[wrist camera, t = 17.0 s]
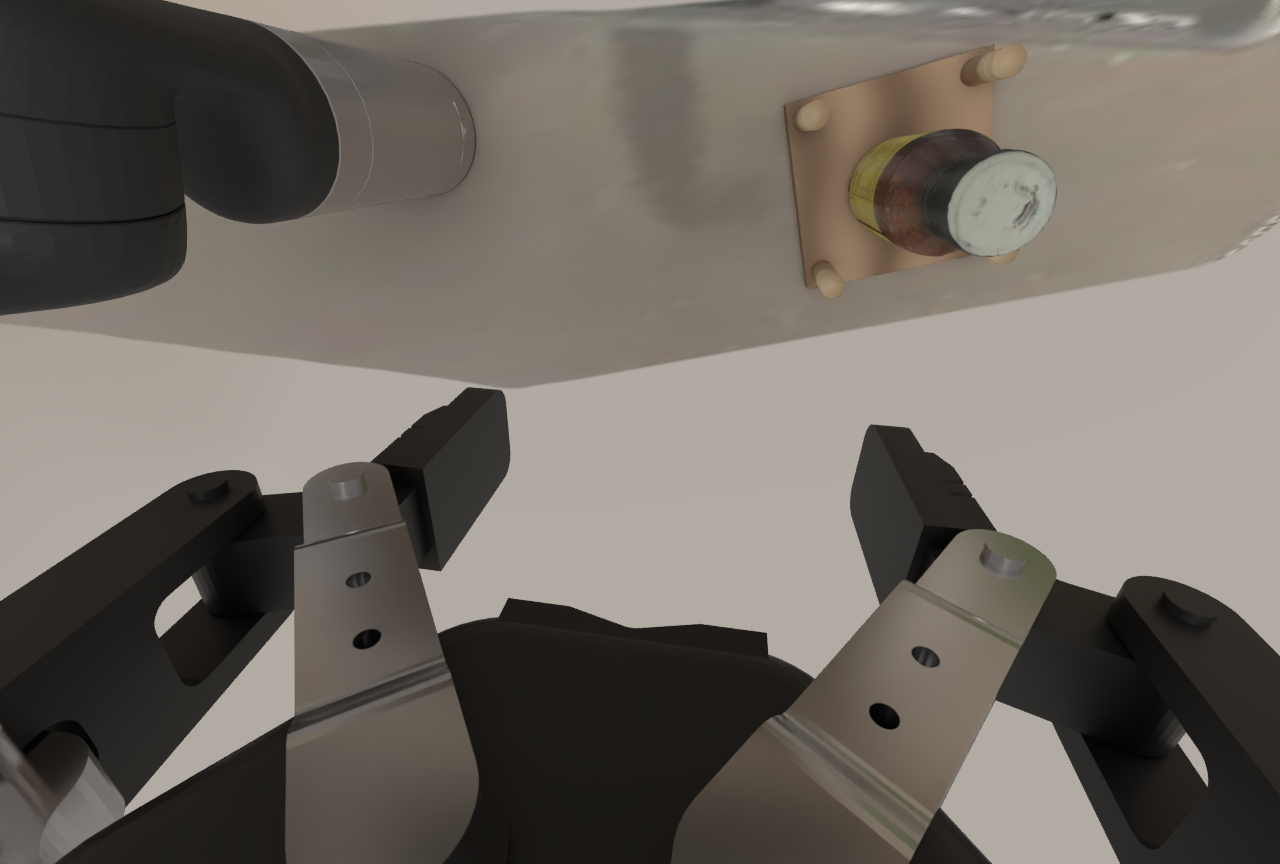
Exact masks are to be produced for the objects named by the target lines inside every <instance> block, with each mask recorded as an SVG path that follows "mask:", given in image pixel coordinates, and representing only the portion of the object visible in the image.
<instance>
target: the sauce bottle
mask: <svg viewBox="0 0 1280 864" xmlns="http://www.w3.org/2000/svg"><path fill="white" fill-rule="evenodd" d="M848 192H849V200H850V205H851V209H852V212H853V214H854V216H855V217H856V219H857V220H858V221H859V222H860V224H861V225H862V226H863V227H865V228H866V229H868V230H869V231H871V232H872V233H874V234H876V235H878V236H879V237H881V238H883V239H885V240H886V241H888V242H890V243H892V244H894V245H895V246H897V247H899V248H901V249H904V250H907V251H910V252H913V253H916V254H919V255H923V256H934V257H938V256H943V255H946V254H948V253H954V252H958V251H960V250H961V251H964V252H966V253H967V254H972V255H975V256H980V257H994V256H999V255H1006V254H1008V253H1011V252H1013V251H1016V250H1018V249H1020V248H1021V247H1022V246H1024V245H1026V244H1028V243H1029V242H1030V241H1031V240H1032V239H1033V238H1034V237H1035V236H1037V235H1038V234H1039V233H1040V232H1041V231H1042V229H1043V228H1044V227H1045V226H1046V224H1047V222H1048V221H1049V218H1050V215H1051V213H1052V211H1053V208H1054V205H1055V201H1056V195H1057V184H1056V180H1055V177H1054V172H1053V170H1052V169H1051V167H1050V166H1049V164H1048V163H1047V162H1045V161H1044V160H1043V159H1041V158H1040V157H1039V156H1036V155H1034V154H1032V153H1029V152H1026V151H1022V150H1011V149H1003V150H1001V149H1000V148H999V146H998V145H997V144H996V143H995V142H994V141H993V140H992V139H990V138H989V137H987V136H986V135H984V134H981V133H979V132H976V131H973V130H969V129H960V128H959V129H943V130H937V131H933V132H927V133H921V134H914V135H907V136H901V137H896V138H892V139H889V140H887V141H885V142H883V143H881V144H879V145H878V146H876V147H875V148H873V149H872V150H871V151H869V152H868V153H867V154H866V155H865V156H864V158H863V159H862V160H861V161H860V163H859V164H858V165H857V167H856V169H855V172H854V174H853V177H852V179H851V181H850V184H849V187H848Z"/></svg>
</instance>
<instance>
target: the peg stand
mask: <svg viewBox="0 0 1280 864" xmlns="http://www.w3.org/2000/svg"><path fill="white" fill-rule="evenodd" d="M994 48H995V44H994V45H991V46H987V47H984V48H980V49H977V50H973V51H970V52H967V53H963V54H960V55H956V56H953V57H949V58H946V59H942V60H939V61H935V62H932V63H928V64H925V65H921V66H918V67H914V68H911V69H907V70H904V71H900V72H897V73H894V74H890V75H887V76H883V77H880V78H876V79H873V80H869V81H866V82H862V83H859V84H855V85H852V86H848V87H845V88H841V89H838V90H834V91H831V92H827V93H824V94H821V95H817V96H814V97H810V98H807V99H803V100H800V101H796V102H793V103H789V104H786V105H784V112H785V120H786V129H787V137H788V145H789V154H790V162H791V170H792V178H793V187H794V195H795V203H796V212H797V220H798V228H799V236H800V245H801V253H802V261H803V270H804V278H805V285H806V287H807V289H812V288H817V287H819V289H820V291H821V292H822V294H823V295H824V296H825V297H826V298H830V299H833V298H837V297H839V296H840V295H841V294H842V293H843V291H844V289H845V282H846V281H851V280H855V279H860V278H865V277H870V276H875V275H880V274H884V273H889V272H894V271H899V270H904V269H908V268H913V267H918V266H923V265H928V264H933V263H937V262H942V261H947V260H952V259H957V258H962V257H966V256H971V255H972V254H967V253H966V252H964V251H961V250H960V251H958V252H954V253H948V254H946V255H943V256H938V257H934V256H923V255H919V254H916V253H913V252H910V251H907V250H904V249H901V248H899V247H897V246H895V245H894V244H892V243H890V242H888V241H886V240H885V239H883V238H881V237H879V236H878V235H876V234H874V233H872V232H871V231H869V230H868V229H866V228H865V227H863V226H862V225H861V224H860V222H859V221H858V220H857V219H856V217H855V216H854V214H853V212H852V209H851V205H850V200H849V192H848V187H849V184H850V181H851V179H852V177H853V174H854V172H855V169H856V167H857V165H858V164H859V163H860V161H861V160H862V159H863V158H864V156H865V155H866V154H867V153H868V152H869V151H871V150H872V149H873V148H875V147H876V146H878V145H879V144H881V143H883V142H885V141H887V140H889V139H892V138H896V137H901V136H907V135H914V134H921V133H927V132H933V131H937V130H943V129H959V128H960V129H969V130H973V131H976V132H979V133H981V134H984V135H986V136H987V137H989V138H990V139H992V140H993V100H994V81H996V80H1000V79H1004V78H1009V77H1012V76H1014V75H1016V74H1017V73H1019V72H1020V71H1021V70H1022V68H1023V67H1024V65H1025V63H1026V59H1027V52H1026V50H1025V48H1024V47H1023V46H1022V45H1020V44H1011V45H1008V46H1005V47H1002V48H999V49H997V50H994ZM1018 252H1019V249H1018V250H1016V251H1013V252H1011V253H1008V254H1006V255H999V256H994V257H984V258H986V259H988V260H991V261H993V262H995V263H997V264H1007V263H1009V262H1011V261H1012V260H1013V259H1014V258H1015V257H1016V256H1017V254H1018Z"/></svg>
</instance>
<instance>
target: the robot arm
mask: <svg viewBox="0 0 1280 864" xmlns="http://www.w3.org/2000/svg"><path fill="white" fill-rule="evenodd" d="M474 150H475V132H474V127H473V121H472V118H471V115H470V112H469V110H468V107H467V105H466V103H465V101H464V100H463V98H462V96H461V94H460V93H459V92H458V90H457V89H456V88H455V87H454V85H453V84H452V83H451V82H450V81H449V80H448V79H447V78H445V77H444V76H443V75H442V74H441V73H439V72H437V71H435V70H434V69H432V68H430V67H428V66H424V65H421V64H417V63H413V62H409V61H406V60H402V59H398V58H395V57H392V56H388V55H384V54H380V53H376V52H372V51H368V50H364V49H360V48H356V47H352V46H349V45H345V44H341V43H337V42H333V41H329V40H325V39H321V38H317V37H313V36H309V35H305V34H301V33H298V32H294V31H288V30H284V29H281V28H277V27H273V26H269V25H264V24H261V23H257V22H253V21H249V20H244V19H241V18H236V17H232V16H228V15H224V14H219V13H215V12H210V11H206V10H202V9H197V8H192V7H188V6H184V5H180V4H176V3H172V2H168V1H164V0H0V315H8V314H17V313H25V312H34V311H42V310H51V309H59V308H66V307H73V306H79V305H86V304H92V303H97V302H102V301H107V300H112V299H117V298H121V297H125V296H128V295H132V294H136V293H139V292H142V291H145V290H148V289H151V288H153V287H155V286H158V285H160V284H162V283H165V282H166V281H168V280H170V279H171V278H172V277H174V276H175V275H176V274H177V273H178V271H179V270H180V269H181V267H182V265H183V263H184V262H185V256H186V251H187V220H186V208H185V201H184V199H185V198H184V194H185V195H187V196H188V197H189V198H190V199H192V200H193V201H195V202H196V203H197V204H199V205H201V206H202V207H204V208H205V209H207V210H209V211H211V212H213V213H215V214H217V215H219V216H222V217H224V218H227V219H231V220H234V221H239V222H244V223H251V224H265V223H275V222H281V221H287V220H292V219H298V218H304V217H310V216H316V215H322V214H327V213H332V212H337V211H343V210H349V209H355V208H361V207H367V206H372V205H378V204H384V203H390V202H396V201H401V200H407V199H414V198H420V197H425V196H430V195H436V194H441V193H445V192H447V191H449V190H451V189H453V188H454V187H455V186H456V185H458V184H459V183H460V182H461V181H462V180H463V178H464V177H465V175H466V174H467V173H468V171H469V168H470V166H471V163H472V161H473V156H474ZM509 463H510V442H509V431H508V420H507V410H506V400H505V396H504V394H503V392H502V391H501V390H494V389H483V388H472V387H471V388H470V387H468V388H466V389H465V390H464V391H463V392H462V393H461V394H460V395H459V396H458V397H457V398H455V399H454V400H453V401H452V402H451V403H450V404H449V405H448V406H442V407H440V408H438V409H436V410H433V411H431V412H429V413H427V414H425V415H423V416H422V417H421V418H420V419H419V420H418V421H416V422H415V423H414V424H413V425H412V427H411V428H409V429H408V430H406V431H405V432H404V433H403V434H402V435H401V438H397V439H396V440H395V441H394V442H393V443H392V444H390V445H389V446H388V447H387V448H386V449H385V450H384V451H382V452H381V453H380V454H379V455H378V456H377V457H376V458H374V459H373V460H372V461H371V462H353V463H346V464H342V465H338V466H334V467H331V468H329V469H326V470H324V471H322V472H320V473H318V474H316V475H315V476H313V477H312V478H311V479H310V480H309V481H307V483H306V484H305V485H304V487H303V492H298V493H284V494H273V495H262V493H261V491H260V488H259V485H258V482H257V479H256V477H255V476H254V475H253V474H251V473H249V472H246V471H240V470H226V471H217V472H212V473H207V474H203V475H200V476H197V477H194V478H191V479H188V480H186V481H184V482H182V483H179V484H178V485H176V486H174V487H172V488H171V489H169V490H168V491H166V492H165V493H163V494H162V495H160V496H159V497H157V498H155V499H154V500H152V501H151V502H150V503H148V504H147V505H145V506H144V507H142V508H140V509H139V510H138V511H136V512H134V513H133V514H131V515H130V516H128V517H127V518H125V519H124V520H122V521H121V522H119V523H118V524H116V525H115V526H113V527H112V528H110V529H109V530H107V531H106V532H104V533H103V534H101V535H100V536H98V537H97V538H95V539H94V540H92V541H91V542H89V543H88V544H86V545H85V546H83V547H82V548H80V549H79V550H77V551H76V552H74V553H72V554H71V555H70V556H68V557H66V558H65V559H63V560H62V561H60V562H59V563H57V564H56V565H54V566H53V567H51V568H50V569H49V570H47V571H46V572H44V573H43V574H41V575H39V576H38V577H36V578H35V579H33V580H32V581H30V582H29V583H27V584H26V585H24V586H23V587H21V588H20V589H18V590H17V591H15V592H14V593H12V594H11V595H9V596H7V597H6V598H4V599H3V600H2V601H0V864H992V863H991V862H990V861H989V860H988V859H987V858H986V857H985V856H984V855H983V853H982V852H981V851H980V850H979V849H978V848H977V847H976V846H975V845H974V844H973V843H972V842H971V841H970V839H969V838H968V837H967V836H966V835H965V834H964V833H963V832H962V831H961V830H960V829H959V828H958V827H957V825H956V824H955V823H954V822H953V821H952V820H951V819H950V818H949V817H948V816H947V815H946V814H945V812H944V811H943V810H942V809H941V806H942V804H943V802H944V800H945V798H946V796H947V794H948V792H949V790H950V788H951V786H952V784H953V782H954V780H955V778H956V776H957V774H958V772H959V770H960V768H961V767H962V765H963V762H964V760H965V759H966V757H967V755H968V753H969V751H970V749H971V747H972V745H973V743H974V741H975V739H976V737H977V735H978V733H979V731H980V729H981V727H982V725H983V723H984V721H985V719H986V717H987V716H988V714H989V712H990V710H991V708H992V706H993V704H994V702H995V700H996V701H999V702H1002V703H1004V704H1007V705H1010V706H1012V707H1014V708H1017V709H1020V710H1022V711H1025V712H1028V713H1030V714H1033V715H1035V716H1038V717H1040V718H1043V719H1046V720H1048V721H1051V722H1052V723H1053V725H1054V728H1055V730H1056V732H1057V734H1058V736H1059V738H1060V740H1061V742H1062V744H1063V747H1064V749H1065V751H1066V753H1067V755H1068V757H1069V759H1070V761H1071V763H1072V765H1073V767H1074V769H1075V771H1076V773H1077V776H1078V778H1079V780H1080V782H1081V784H1082V786H1083V788H1084V790H1085V792H1086V794H1087V796H1088V798H1089V800H1090V802H1091V804H1092V806H1093V809H1094V811H1095V813H1096V815H1097V817H1098V819H1099V821H1100V823H1101V825H1102V827H1103V829H1104V831H1105V833H1106V835H1107V837H1108V839H1109V842H1110V843H1111V846H1112V848H1113V850H1114V852H1115V854H1116V856H1117V858H1118V860H1119V862H1120V864H1280V656H1279V655H1278V654H1277V653H1276V652H1275V651H1274V650H1273V649H1272V648H1271V647H1270V646H1269V645H1268V644H1267V643H1266V642H1265V641H1264V640H1263V639H1262V638H1261V637H1260V636H1259V635H1258V634H1257V633H1256V632H1255V631H1254V630H1253V629H1252V628H1251V627H1250V626H1249V625H1248V624H1247V623H1246V622H1245V621H1244V620H1243V619H1242V618H1241V617H1240V616H1239V615H1238V614H1237V613H1236V612H1234V611H1233V610H1232V609H1230V608H1229V607H1227V606H1226V605H1224V604H1223V603H1221V602H1220V601H1218V600H1216V599H1215V598H1213V597H1211V596H1209V595H1207V594H1205V593H1203V592H1201V591H1199V590H1197V589H1194V588H1192V587H1190V586H1187V585H1184V584H1181V583H1179V582H1176V581H1172V580H1168V579H1164V578H1159V577H1152V576H1137V577H1132V578H1130V579H1128V580H1127V581H1125V582H1124V584H1123V586H1122V588H1121V589H1120V591H1119V593H1118V594H1117V596H1116V598H1115V597H1111V596H1108V595H1105V594H1102V593H1098V592H1095V591H1092V590H1088V589H1085V588H1082V587H1078V586H1075V585H1072V584H1068V583H1066V582H1062V581H1059V580H1057V579H1056V570H1055V568H1054V566H1053V564H1052V563H1051V561H1049V559H1048V558H1047V557H1046V556H1045V555H1044V554H1042V553H1041V552H1040V551H1039V550H1037V549H1036V548H1034V547H1033V546H1031V545H1029V544H1028V543H1026V542H1024V541H1022V540H1020V539H1017V538H1015V537H1013V536H1010V535H1007V534H1004V533H1000V532H997V531H996V529H995V528H994V526H993V525H992V523H991V522H990V521H989V519H988V517H987V516H986V514H985V513H984V512H983V510H982V509H981V507H980V506H979V504H978V503H977V501H976V500H975V498H972V494H971V492H970V491H969V489H968V488H967V487H966V485H963V481H962V479H961V478H960V476H959V475H958V473H957V472H956V470H955V469H954V467H952V466H951V465H950V464H948V463H947V462H945V461H944V460H943V459H941V458H940V457H938V456H937V455H936V454H934V453H928V452H924V450H923V449H922V447H921V446H920V444H919V442H918V441H917V439H916V438H915V436H914V434H913V433H912V432H911V430H910V429H909V428H905V427H894V426H882V425H870V426H869V427H868V429H867V431H866V434H865V437H864V441H863V445H862V449H861V453H860V457H859V461H858V465H857V469H856V473H855V477H854V481H853V485H852V490H851V497H850V498H851V499H850V509H851V516H852V519H853V523H854V526H855V529H856V532H857V535H858V538H859V541H860V544H861V548H862V551H863V554H864V557H865V560H866V563H867V566H868V569H869V572H870V576H871V579H872V582H873V585H874V588H875V591H876V595H877V597H878V601H879V604H880V606H879V607H878V608H877V609H876V610H875V611H874V613H873V614H872V615H871V616H870V617H869V618H868V619H867V621H866V622H865V623H864V624H863V625H862V626H861V628H859V630H858V631H857V632H856V633H855V634H854V635H853V636H852V638H851V639H850V640H849V641H848V642H847V643H846V644H845V646H844V647H843V648H842V649H841V650H840V651H839V652H838V653H837V655H836V656H835V657H834V658H833V659H832V660H831V661H830V663H829V664H828V665H827V666H826V667H825V668H824V669H823V671H822V672H821V673H820V674H819V675H818V676H817V678H816V679H814V678H813V677H811V676H810V675H809V674H807V673H805V672H804V671H802V670H800V669H798V668H797V667H795V666H794V665H792V664H789V663H787V662H785V661H783V660H781V659H779V658H776V657H774V656H771V655H768V645H767V633H762V632H755V631H748V630H741V629H733V628H726V627H718V626H710V625H704V624H694V625H680V626H665V627H650V628H629V627H625V626H622V625H619V624H617V623H614V622H611V621H608V620H606V619H602V618H600V617H597V616H594V615H592V614H589V613H586V612H584V611H581V610H578V609H575V608H573V607H570V606H563V605H555V604H548V603H541V602H534V601H526V600H518V599H511V598H508V600H507V602H506V604H505V606H504V608H503V610H502V612H501V614H500V616H499V617H496V618H488V619H482V620H476V621H472V622H468V623H465V624H461V625H458V626H455V627H453V628H450V629H447V630H444V631H442V632H440V633H438V634H437V631H436V627H435V624H434V620H433V617H432V613H431V610H430V606H429V603H428V599H427V596H426V592H425V589H424V585H423V582H422V578H421V575H420V571H419V568H421V569H428V570H435V571H441V570H442V569H443V567H444V566H445V564H446V563H447V561H448V560H449V559H450V557H451V556H452V554H453V553H454V551H455V550H456V548H457V547H458V545H459V544H460V542H461V541H462V540H463V538H464V537H465V535H466V534H467V532H468V531H469V529H470V528H471V526H472V525H473V523H474V522H475V520H476V519H477V518H478V516H479V515H480V513H481V512H482V510H483V509H484V507H485V506H486V504H487V503H488V501H489V500H490V498H491V497H492V495H493V494H494V493H495V491H496V489H497V488H498V487H499V485H500V483H501V482H502V481H503V479H504V478H505V476H506V474H507V471H508V468H509ZM191 576H192V577H193V580H194V582H195V584H196V586H197V588H198V591H199V593H200V595H201V597H202V599H201V600H200V601H199V602H198V603H197V604H196V605H195V606H193V607H192V608H191V609H190V610H189V611H188V612H187V613H186V614H185V615H184V616H183V617H182V618H181V619H179V620H178V621H177V622H176V623H175V624H174V625H173V626H172V627H171V628H170V629H169V630H168V631H166V632H165V633H164V634H163V635H162V636H161V637H160V638H158V636H157V634H156V631H155V627H154V621H155V616H156V613H157V610H158V608H159V606H160V605H161V603H162V602H163V601H164V600H165V598H166V597H167V596H168V595H170V594H171V593H172V592H173V591H174V590H175V589H177V588H178V587H179V586H180V585H181V584H182V583H184V582H185V581H186V580H187V579H188V578H189V577H191ZM293 610H294V618H295V619H294V622H295V623H294V624H295V627H294V628H295V630H294V634H295V715H294V717H293V718H291V719H289V720H288V721H286V722H284V723H282V724H281V725H279V726H277V727H276V728H274V729H272V730H270V731H269V732H267V733H265V734H264V735H262V736H260V737H259V738H257V739H255V740H253V741H252V742H250V743H248V744H247V745H245V746H243V747H242V748H240V749H238V750H236V751H235V752H233V753H231V754H229V755H228V756H226V757H224V758H223V759H221V760H219V761H218V762H216V763H214V764H213V765H211V766H209V767H207V768H206V769H204V770H202V771H200V772H199V773H197V774H195V775H194V776H192V777H190V778H188V779H187V780H185V781H184V782H182V783H180V784H178V785H177V786H175V787H173V788H172V789H170V790H168V791H166V792H165V793H163V794H161V795H159V796H158V797H156V798H155V799H153V800H151V801H149V802H148V803H146V804H144V805H143V806H141V807H139V808H137V809H136V810H134V811H132V812H131V813H129V814H127V815H125V816H124V812H125V807H126V806H127V805H128V804H129V803H130V802H131V800H132V799H133V798H134V797H135V796H136V795H137V793H138V792H139V791H140V790H141V789H142V787H143V786H144V785H145V784H146V783H147V782H148V780H149V779H150V778H151V777H152V776H153V775H154V774H155V772H156V771H157V770H158V769H159V768H160V766H161V765H162V764H163V763H164V762H165V761H166V759H167V758H168V757H169V756H170V755H171V754H172V752H173V751H174V750H175V749H176V747H178V745H179V744H180V743H181V742H182V741H183V740H184V738H185V737H186V736H187V735H188V734H189V733H190V731H191V730H192V729H193V728H194V727H195V726H196V724H197V723H198V722H199V721H200V720H201V719H202V717H203V716H204V715H205V714H206V713H207V711H208V710H209V709H210V708H211V707H212V706H213V704H214V703H215V702H216V701H217V700H218V699H219V697H220V696H221V695H222V694H223V693H224V692H225V690H226V689H227V688H228V687H229V686H230V685H231V683H232V682H233V681H234V680H235V678H237V676H238V675H239V674H240V673H241V672H242V671H243V669H244V668H245V667H246V666H247V665H248V663H249V662H250V661H251V660H252V659H253V658H254V656H255V655H256V654H257V653H258V652H259V651H260V649H261V648H262V647H263V646H264V645H265V643H266V642H267V641H268V640H269V639H270V638H271V637H272V635H273V634H274V633H275V632H276V631H277V630H278V628H279V627H280V626H281V625H282V624H283V622H284V621H285V620H286V619H287V618H288V617H289V615H290V614H291V613H292V611H293ZM1186 732H1187V734H1188V735H1189V736H1190V738H1191V739H1192V741H1193V742H1194V744H1195V745H1196V746H1197V748H1198V750H1199V751H1200V753H1201V755H1202V757H1203V759H1204V761H1205V764H1206V767H1207V772H1208V787H1207V786H1206V784H1205V783H1204V781H1203V780H1202V778H1201V777H1200V775H1199V774H1198V772H1197V771H1196V769H1195V768H1194V766H1193V765H1192V763H1191V762H1190V761H1189V759H1188V758H1187V756H1186V755H1185V753H1184V752H1183V751H1182V749H1181V747H1180V746H1179V744H1178V742H1179V741H1180V739H1181V738H1182V737H1183V736H1184V734H1185V733H1186Z"/></svg>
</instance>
